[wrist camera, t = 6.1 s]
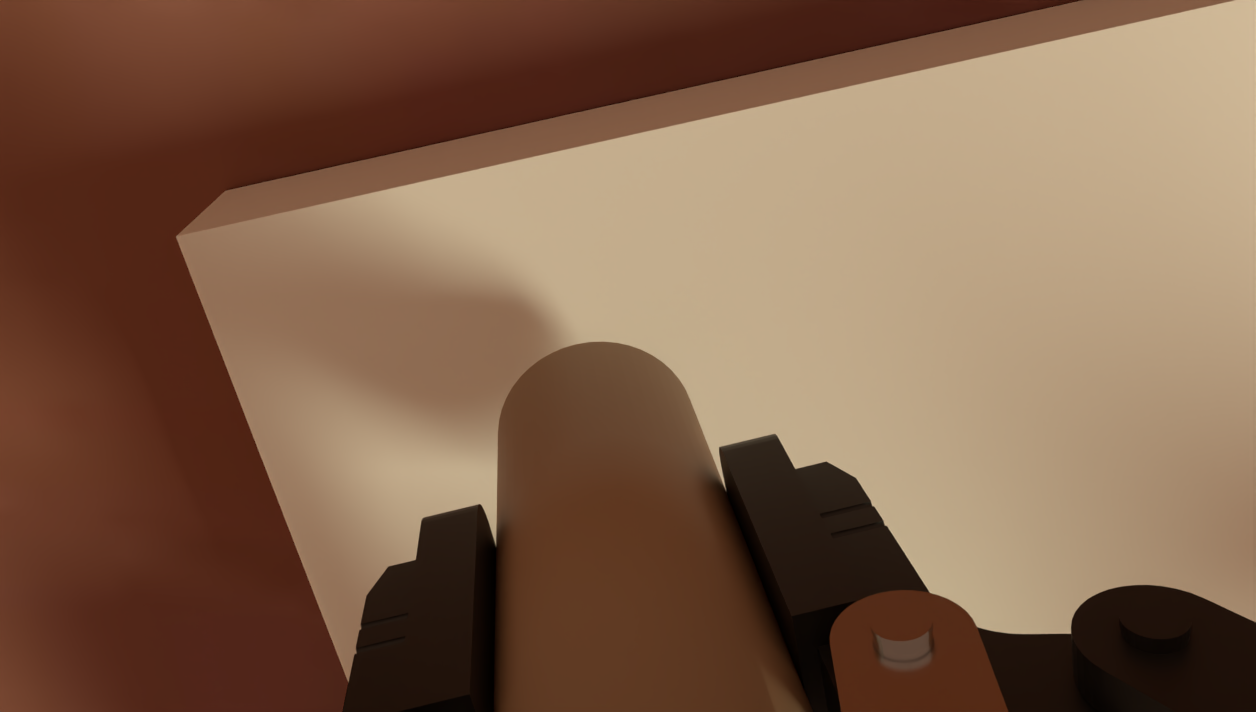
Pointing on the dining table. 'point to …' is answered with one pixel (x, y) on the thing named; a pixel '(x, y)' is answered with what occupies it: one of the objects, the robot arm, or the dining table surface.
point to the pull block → (623, 551)
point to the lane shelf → (805, 302)
